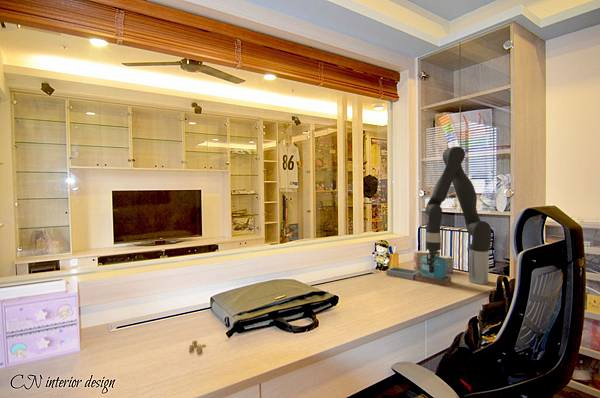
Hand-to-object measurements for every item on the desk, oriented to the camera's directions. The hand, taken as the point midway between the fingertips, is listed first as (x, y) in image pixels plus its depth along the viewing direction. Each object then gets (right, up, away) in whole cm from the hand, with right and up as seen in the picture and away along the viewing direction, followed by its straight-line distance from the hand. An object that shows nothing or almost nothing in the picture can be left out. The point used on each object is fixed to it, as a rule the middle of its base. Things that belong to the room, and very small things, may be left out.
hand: (433, 271), depth 172 cm
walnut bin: (0, -5, 0) cm, 5 cm away
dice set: (-106, -9, -72) cm, 128 cm away
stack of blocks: (+9, -5, +21) cm, 23 cm away
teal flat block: (0, -4, 0) cm, 4 cm away
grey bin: (-13, -5, +11) cm, 18 cm away
